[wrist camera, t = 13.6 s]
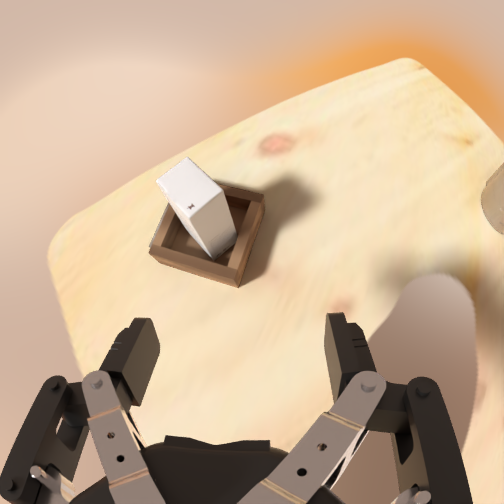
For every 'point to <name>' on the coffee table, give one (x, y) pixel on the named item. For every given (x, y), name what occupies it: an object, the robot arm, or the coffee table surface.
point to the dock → (193, 255)
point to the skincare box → (199, 207)
